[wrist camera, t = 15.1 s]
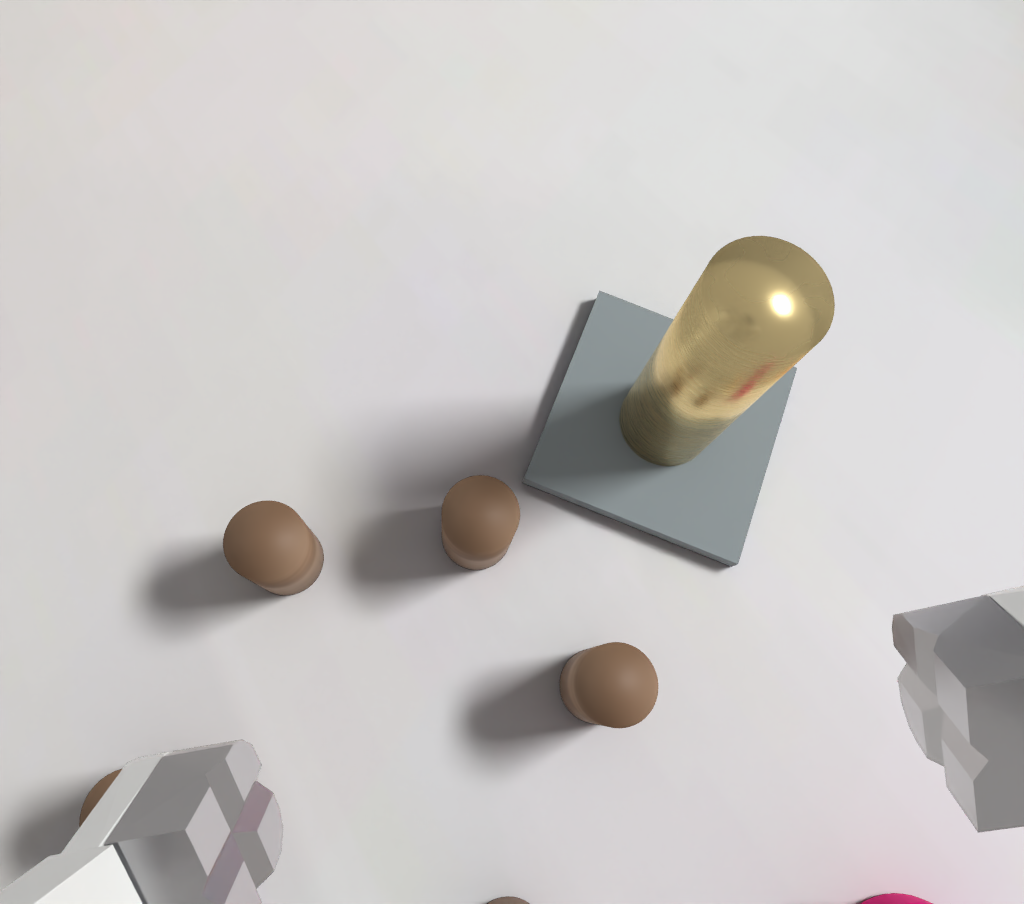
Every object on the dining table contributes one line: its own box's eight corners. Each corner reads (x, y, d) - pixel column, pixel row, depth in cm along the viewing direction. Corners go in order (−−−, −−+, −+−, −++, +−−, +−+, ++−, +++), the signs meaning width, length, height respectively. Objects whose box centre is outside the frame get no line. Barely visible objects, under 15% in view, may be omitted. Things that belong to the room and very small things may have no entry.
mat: (522, 482, 35) (523, 478, 35) (596, 298, 38) (599, 290, 38) (731, 566, 35) (738, 564, 34) (789, 374, 38) (796, 368, 37)
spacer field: (116, 823, 30) (61, 844, 26) (312, 433, 35) (294, 397, 31) (530, 999, 30) (544, 1051, 25) (668, 576, 35) (700, 560, 30)
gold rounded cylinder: (606, 445, 35) (685, 327, 24) (636, 365, 37) (724, 217, 25) (694, 480, 35) (815, 378, 24) (721, 399, 36) (848, 264, 25)
